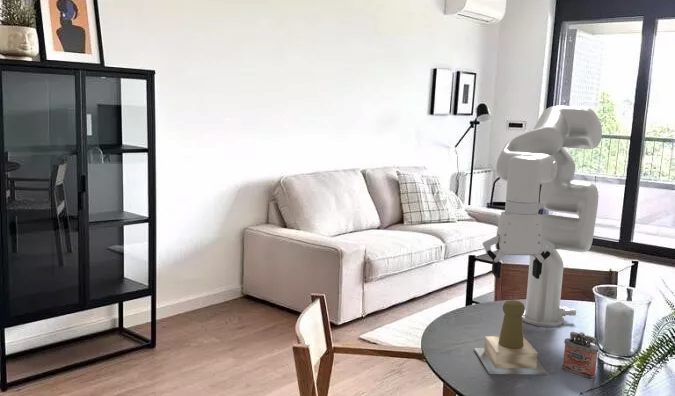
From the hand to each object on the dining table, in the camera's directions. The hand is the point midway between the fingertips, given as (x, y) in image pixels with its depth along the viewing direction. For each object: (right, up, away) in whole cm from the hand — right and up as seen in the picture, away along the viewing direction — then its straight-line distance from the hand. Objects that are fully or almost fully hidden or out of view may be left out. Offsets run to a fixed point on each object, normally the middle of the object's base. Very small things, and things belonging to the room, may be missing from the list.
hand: (516, 277), depth 153 cm
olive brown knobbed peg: (0, -17, +3) cm, 17 cm away
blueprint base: (-1, -22, +4) cm, 22 cm away
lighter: (+14, -23, -2) cm, 27 cm away
